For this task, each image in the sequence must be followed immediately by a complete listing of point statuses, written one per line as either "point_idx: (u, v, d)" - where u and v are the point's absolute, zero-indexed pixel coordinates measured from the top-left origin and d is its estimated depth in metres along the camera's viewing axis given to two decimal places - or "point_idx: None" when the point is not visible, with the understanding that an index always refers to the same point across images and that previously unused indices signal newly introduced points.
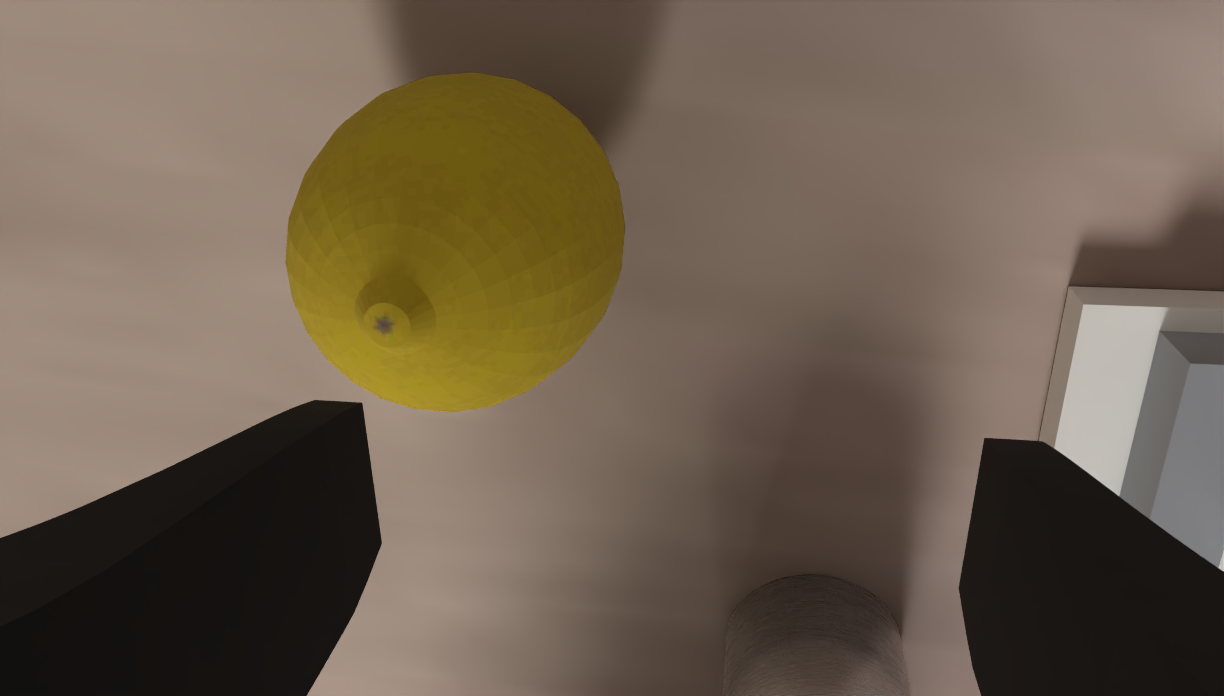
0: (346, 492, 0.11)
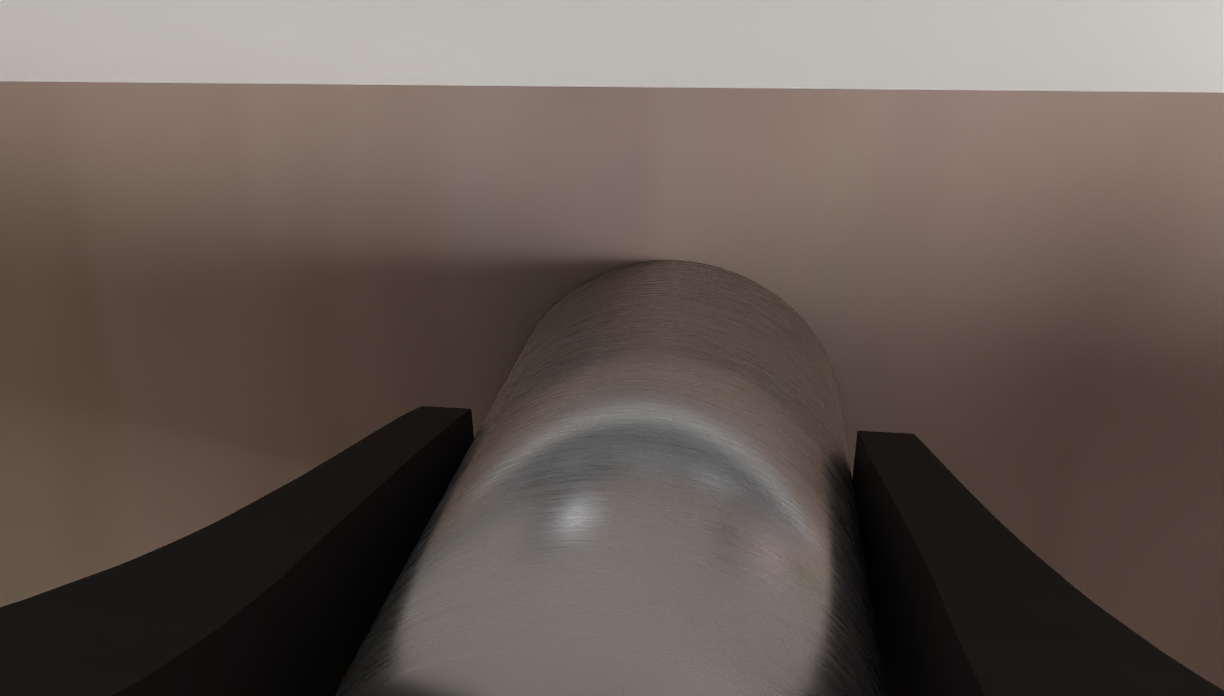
0: None
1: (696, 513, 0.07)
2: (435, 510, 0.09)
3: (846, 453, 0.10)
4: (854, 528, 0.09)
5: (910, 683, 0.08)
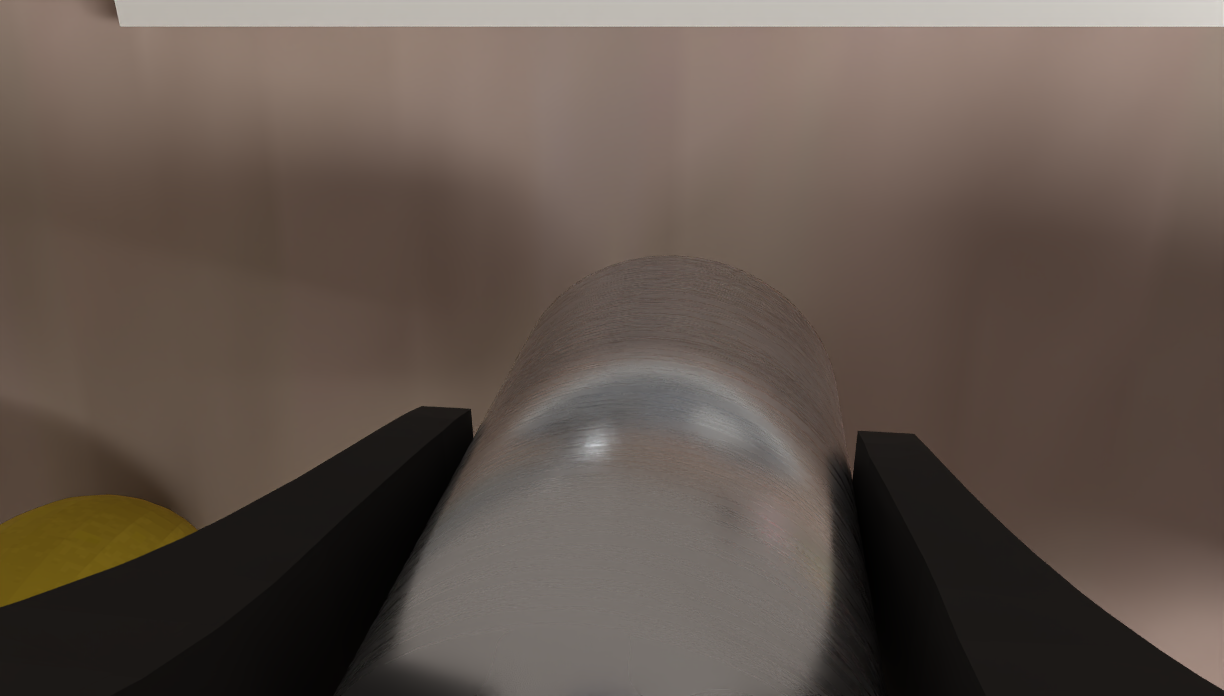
0: None
1: (698, 499, 0.07)
2: (441, 498, 0.09)
3: (844, 444, 0.11)
4: (852, 516, 0.09)
5: (910, 683, 0.08)
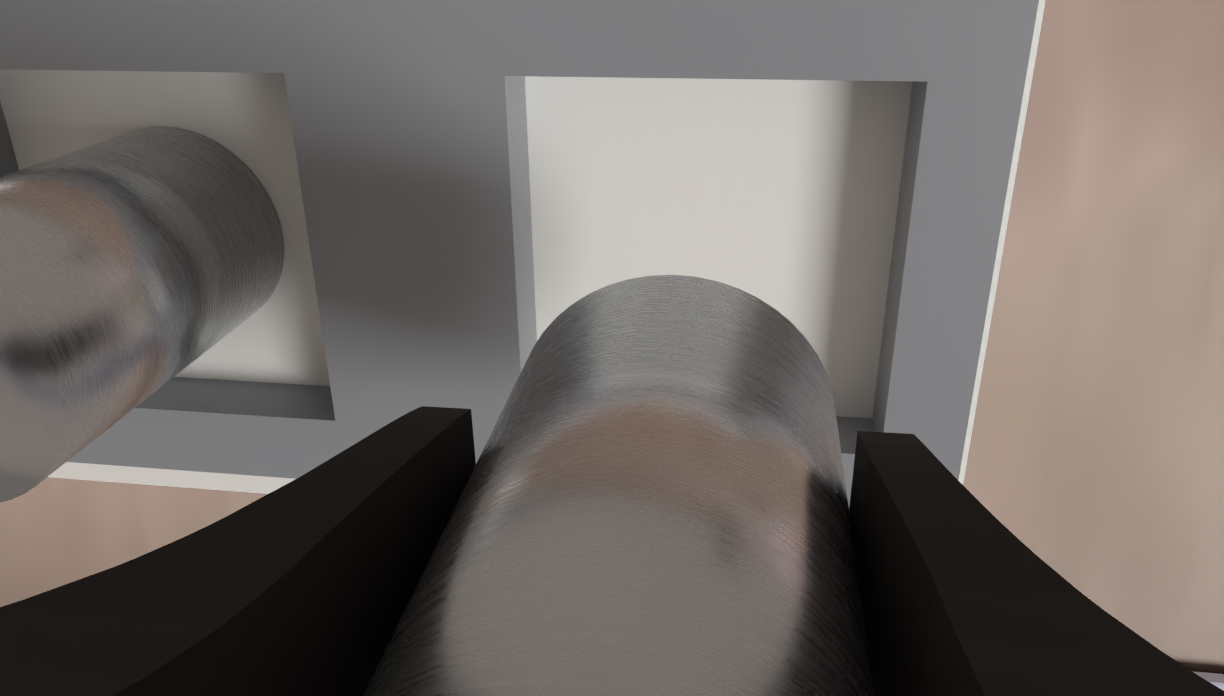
0: None
1: (726, 551, 0.07)
2: (457, 513, 0.09)
3: (845, 483, 0.11)
4: (854, 563, 0.09)
5: (910, 683, 0.08)
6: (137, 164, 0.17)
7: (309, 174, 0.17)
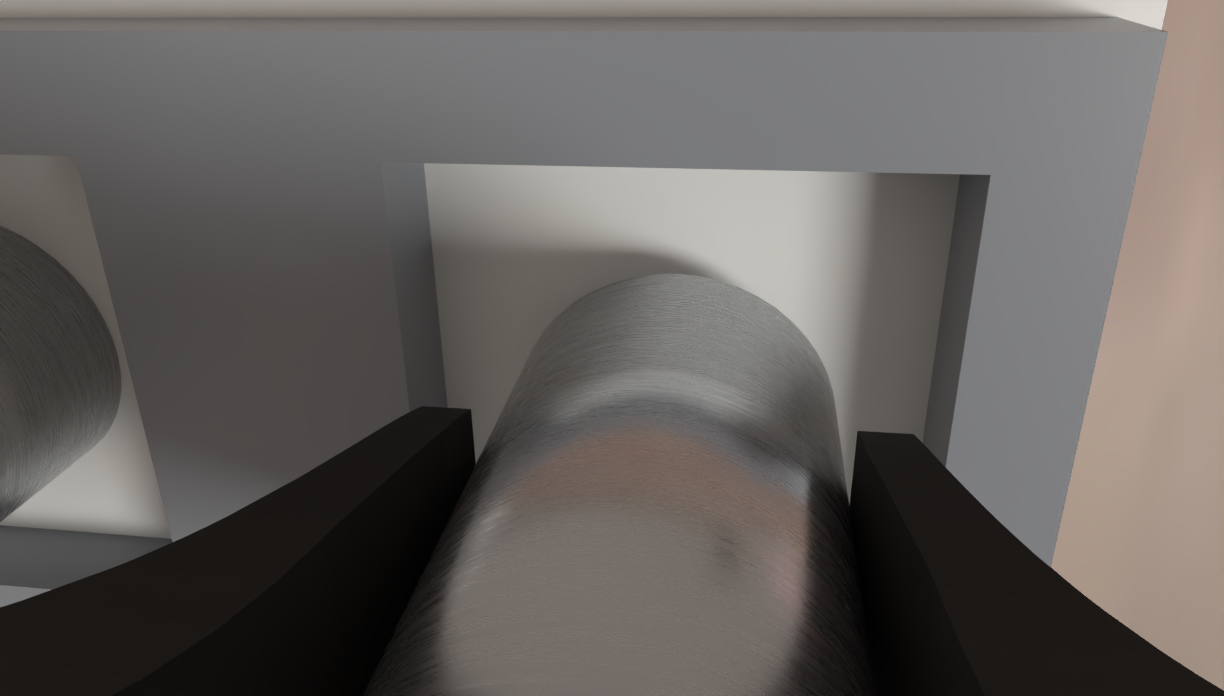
0: None
1: (726, 552, 0.07)
2: (457, 512, 0.09)
3: None
4: (855, 562, 0.09)
5: (910, 683, 0.08)
6: None
7: (123, 291, 0.13)
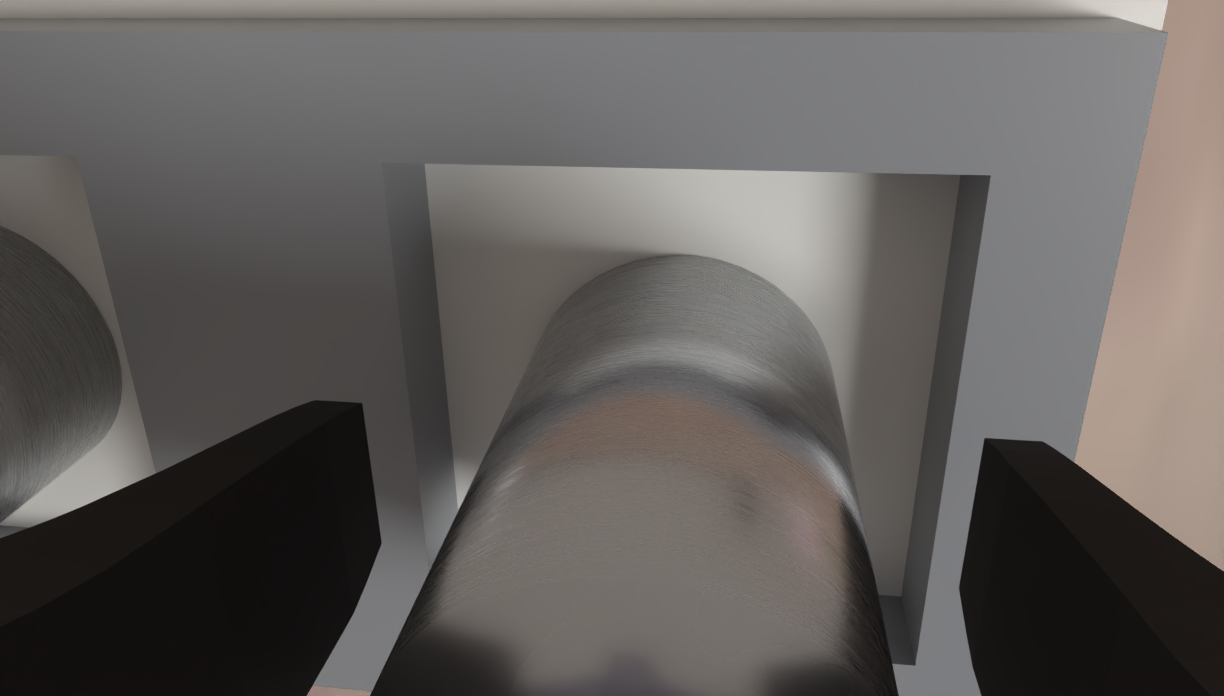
0: (346, 492, 0.11)
1: (746, 479, 0.08)
2: (486, 462, 0.10)
3: None
4: (860, 509, 0.10)
5: None
6: None
7: (124, 291, 0.13)
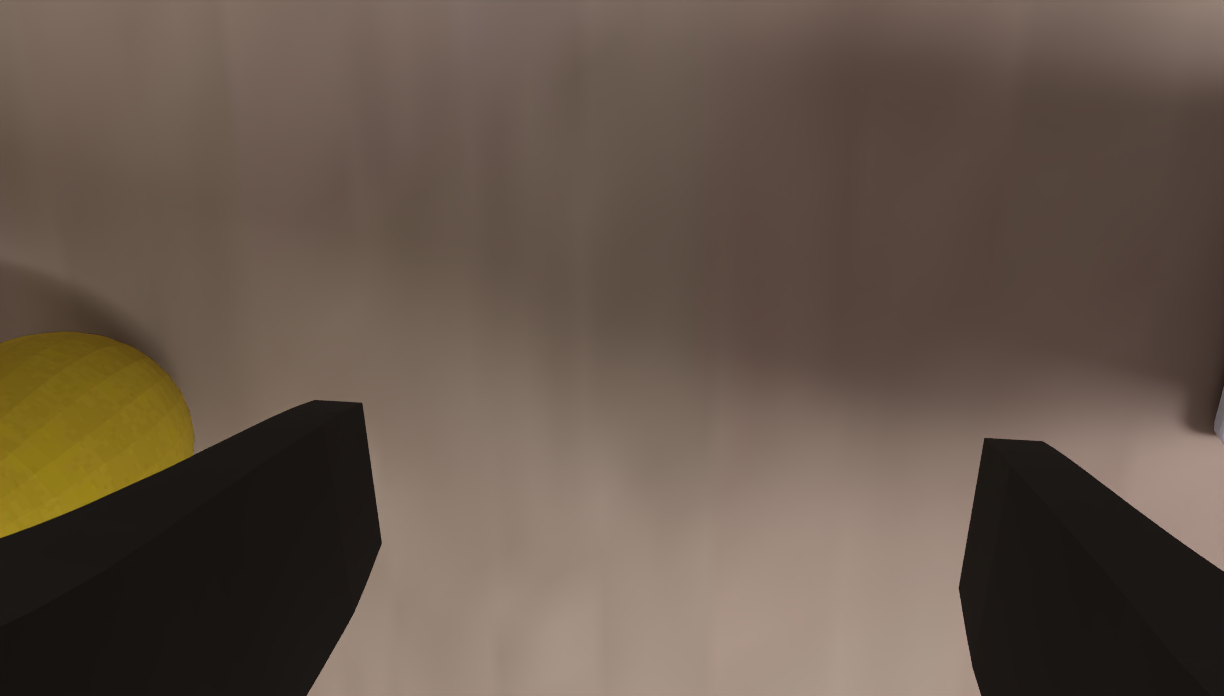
0: (346, 492, 0.11)
1: None
2: None
3: None
4: None
5: None
6: None
7: None
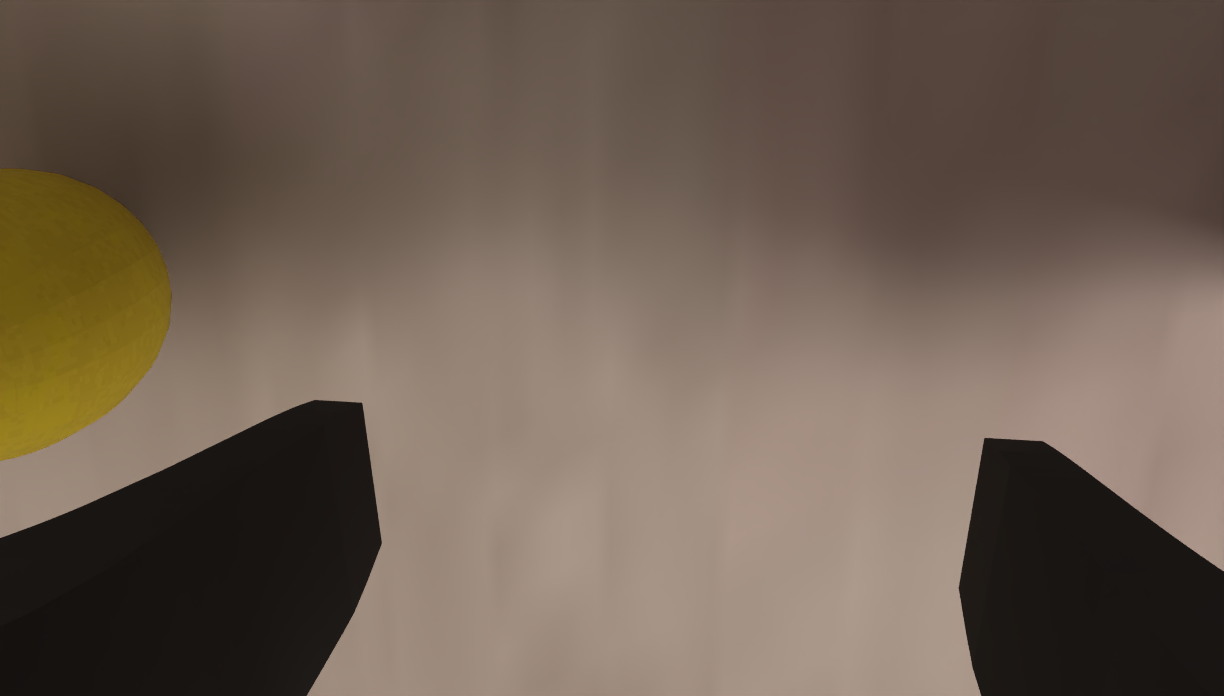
0: (346, 492, 0.11)
1: None
2: None
3: None
4: None
5: None
6: None
7: None
